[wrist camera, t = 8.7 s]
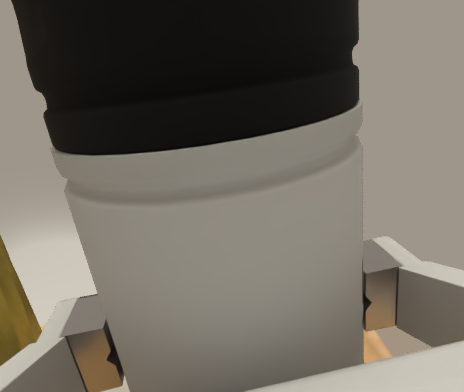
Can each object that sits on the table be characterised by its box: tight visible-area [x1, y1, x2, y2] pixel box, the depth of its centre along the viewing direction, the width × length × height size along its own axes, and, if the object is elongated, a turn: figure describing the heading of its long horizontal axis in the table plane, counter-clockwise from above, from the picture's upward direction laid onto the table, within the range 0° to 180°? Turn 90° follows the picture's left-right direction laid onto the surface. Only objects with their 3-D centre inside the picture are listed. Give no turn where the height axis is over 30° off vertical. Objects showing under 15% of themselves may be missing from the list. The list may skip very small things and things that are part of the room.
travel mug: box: [11, 0, 364, 392], centre depth 10 cm, size 6×7×20 cm
